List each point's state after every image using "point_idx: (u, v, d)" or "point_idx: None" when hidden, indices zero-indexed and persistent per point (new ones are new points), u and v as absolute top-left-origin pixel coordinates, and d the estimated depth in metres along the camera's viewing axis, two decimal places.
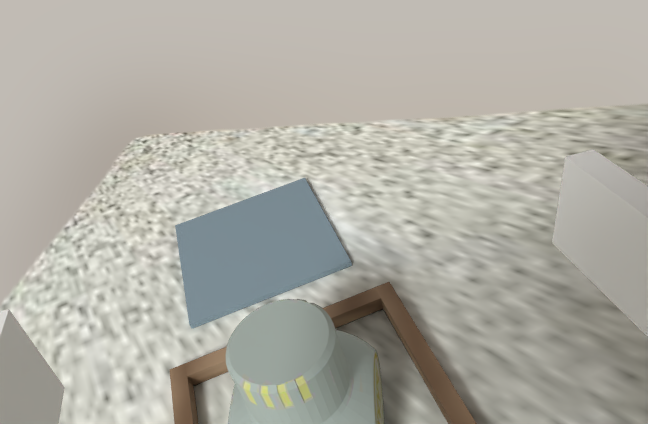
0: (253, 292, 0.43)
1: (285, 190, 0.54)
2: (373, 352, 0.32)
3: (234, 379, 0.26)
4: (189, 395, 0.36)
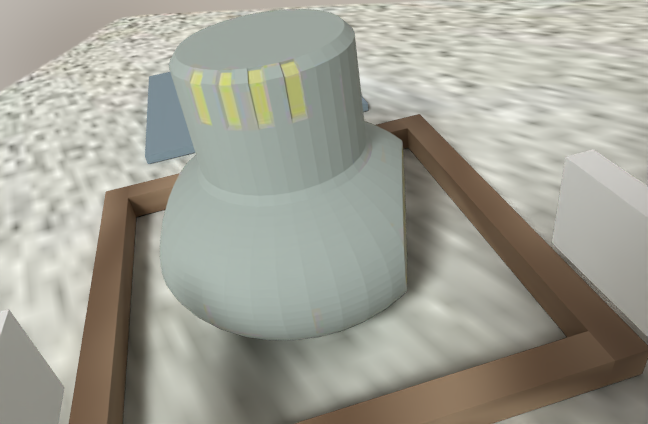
0: None
1: None
2: None
3: (177, 76, 0.15)
4: (126, 216, 0.25)
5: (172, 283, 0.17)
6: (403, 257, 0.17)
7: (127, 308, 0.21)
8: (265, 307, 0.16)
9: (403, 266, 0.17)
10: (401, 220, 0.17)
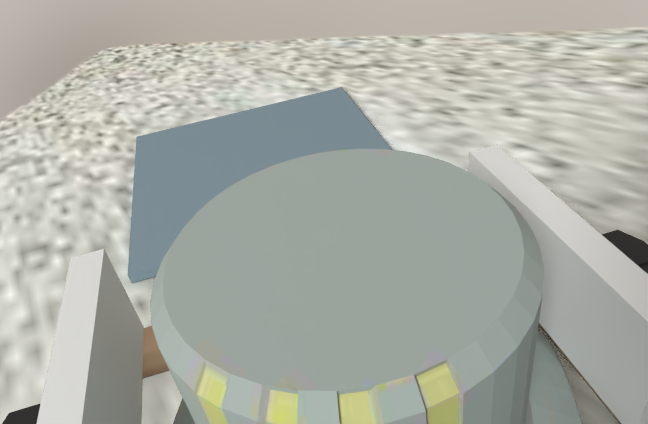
0: None
1: (312, 100, 0.35)
2: (543, 336, 0.13)
3: (168, 358, 0.07)
4: None
5: None
6: None
7: None
8: None
9: None
10: None
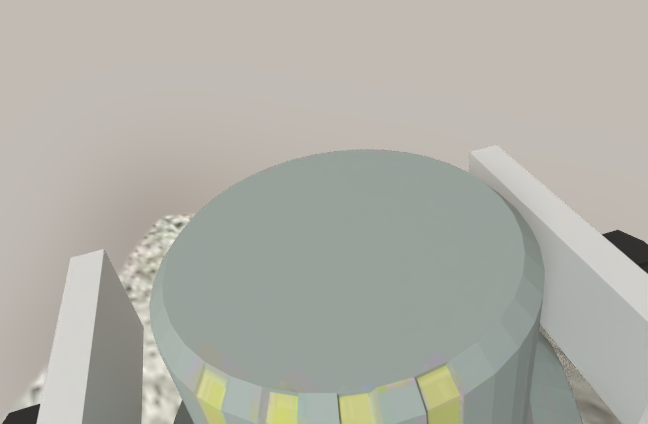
0: None
1: None
2: (544, 337, 0.13)
3: (168, 360, 0.07)
4: None
5: None
6: None
7: None
8: None
9: None
10: None
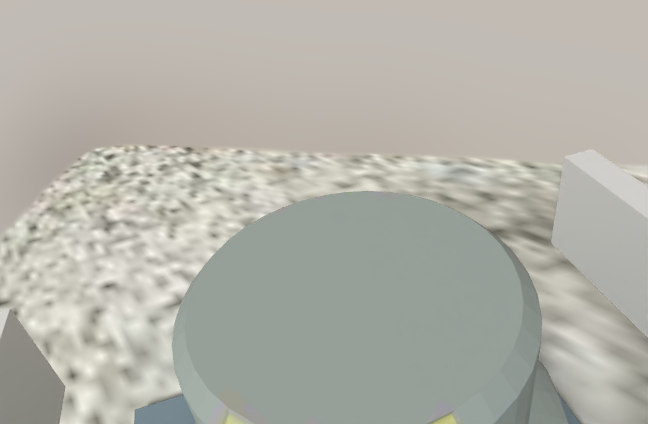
0: None
1: None
2: (540, 363, 0.13)
3: (192, 403, 0.07)
4: None
5: None
6: None
7: None
8: None
9: None
10: None
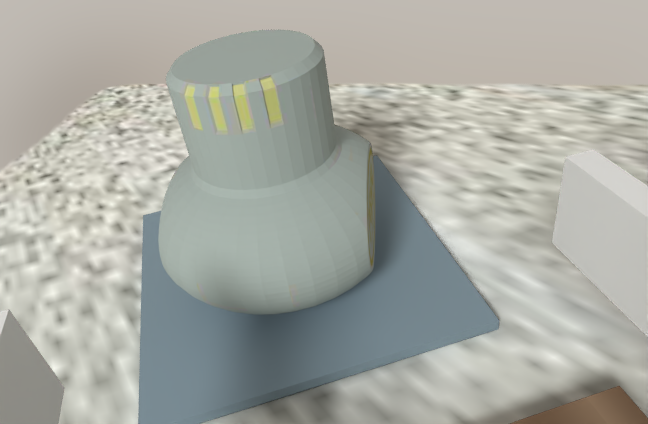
0: (286, 370, 0.20)
1: None
2: (369, 143, 0.24)
3: (173, 89, 0.18)
4: None
5: (169, 266, 0.20)
6: (366, 241, 0.20)
7: None
8: (248, 284, 0.19)
9: (367, 249, 0.20)
10: (365, 210, 0.20)
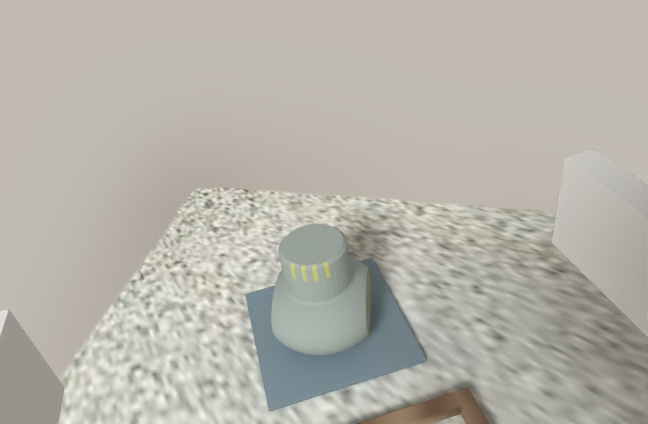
0: (330, 380, 0.45)
1: None
2: (367, 268, 0.49)
3: (284, 262, 0.43)
4: None
5: (277, 333, 0.45)
6: (366, 324, 0.44)
7: None
8: (315, 344, 0.44)
9: (366, 327, 0.44)
10: (365, 310, 0.45)
